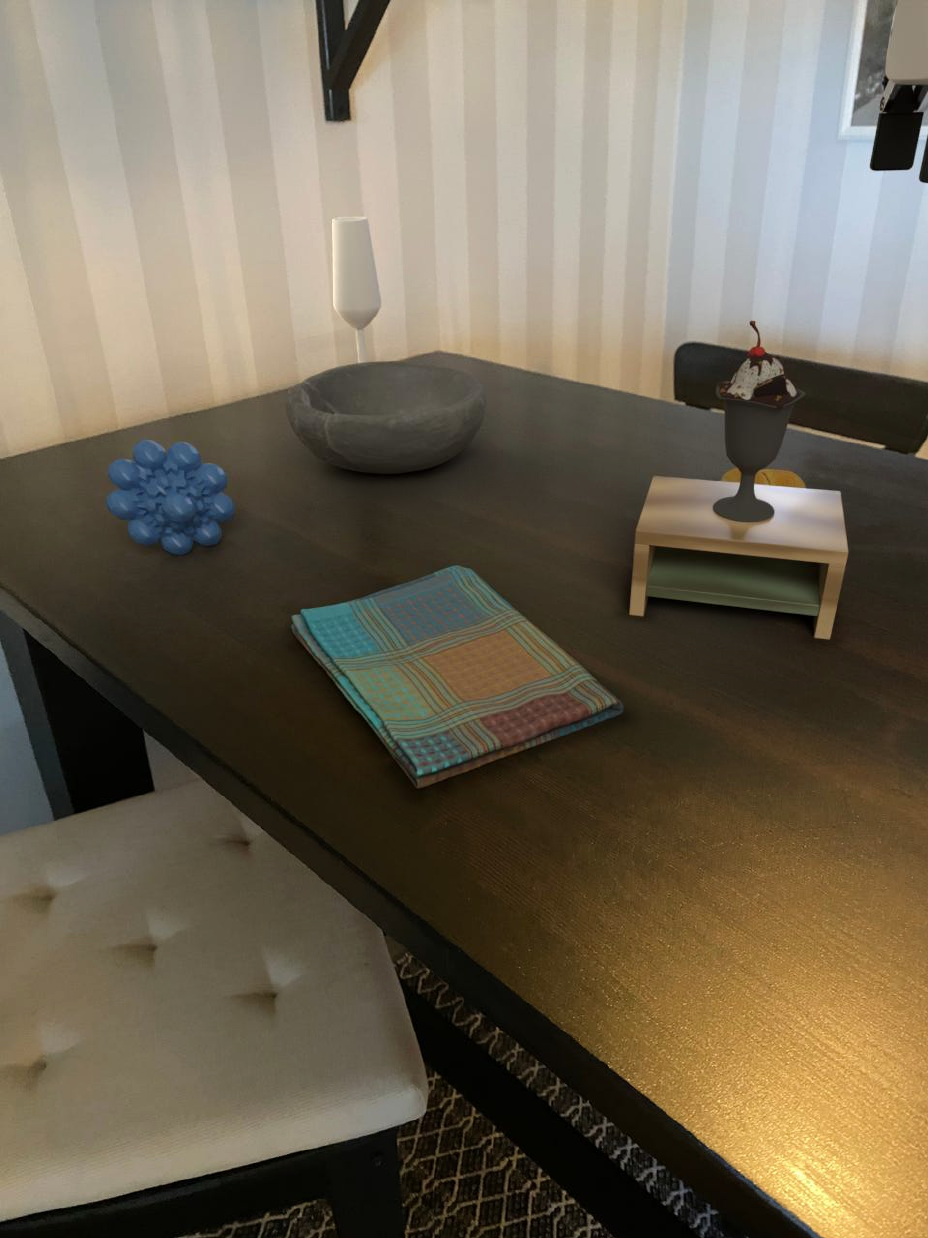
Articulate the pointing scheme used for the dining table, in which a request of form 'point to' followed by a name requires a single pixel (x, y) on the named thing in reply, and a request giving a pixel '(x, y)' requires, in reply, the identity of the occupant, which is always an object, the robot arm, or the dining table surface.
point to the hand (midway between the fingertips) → (914, 175)
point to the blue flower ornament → (170, 496)
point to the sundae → (754, 427)
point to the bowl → (386, 415)
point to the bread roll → (768, 478)
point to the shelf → (741, 550)
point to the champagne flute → (354, 276)
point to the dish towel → (451, 673)
